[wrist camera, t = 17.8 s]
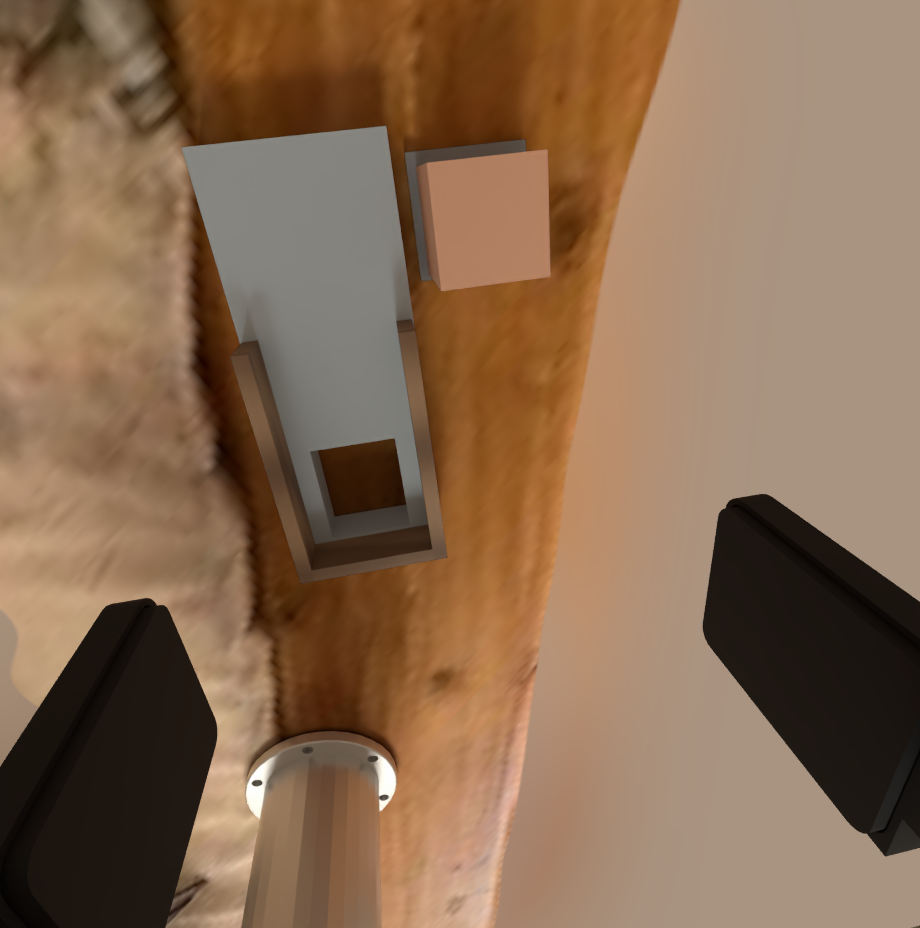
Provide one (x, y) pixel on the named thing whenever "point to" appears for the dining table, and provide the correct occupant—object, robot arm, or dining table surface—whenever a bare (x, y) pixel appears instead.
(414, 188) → the coaster
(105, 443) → the dining table surface
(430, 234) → the block
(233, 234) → the deck
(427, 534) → the channel walls
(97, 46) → the dining table surface
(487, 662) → the dining table surface
